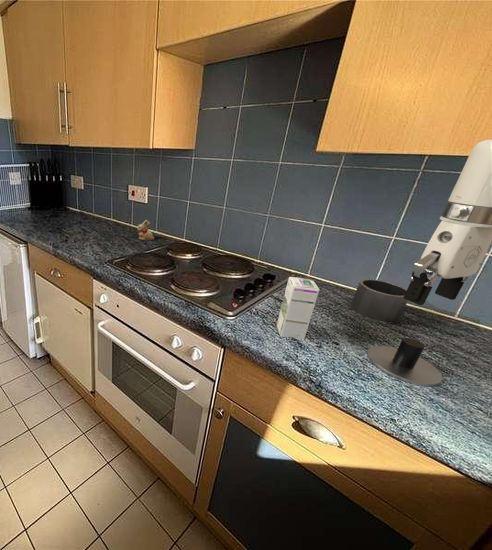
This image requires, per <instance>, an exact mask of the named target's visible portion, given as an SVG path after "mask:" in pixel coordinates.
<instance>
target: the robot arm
mask: <svg viewBox="0 0 492 550" xmlns="http://www.w3.org/2000/svg"><path fill="white" fill-rule="evenodd" d="M439 220H441V221H440V222H439V224H438V226H437V228H436V229H435V230H434V232H433V234H432V236H431V237H430V239H429V241H428V243H427V245H426V246H425V248H424V250H423V252H422V254H421V257H420V259H418V260H417V261H416V262H415V263H414V264H413V271H412V272H411V277H410V282H409V285H408V287H407V288H406V289H407V291H406V293H405V295H404V299H406V300H408V302H411V303H413V304H415V305H418V306H423V305H425V303H426V302H427V299H428V297H429V295H430V293H431V291H432V289H433V286H431V285H433V283H434V282H436V280H438V279H439V277H442V278H441V279H440V281H439V283H438V285H437V287H436V289H435V291H434V293H435V295H437V296H440V297H442V298H444V299H445V298H446V299H448V300H449V301H450V300H456V299H457V298H458V295H459V293H460V291H461V289H462V288H463V286H464V285H465V282H466V281H468V279H469V277H470V276H473V275H475V274H476V273H478V271H479V269H480V267H481V265H482V263H483V261H484V259H485V257H486V255H487V253H488V250H489V249H490V246H491V243H492V139H485V140H482V141H479V142H478V143H476V145H474V146H473V147H472V150H471V151H470V153H469V155H468V157H467V159H466V161H465V164H464V166H463V168H462V170H461V172H460V175H459V177H458V178H457V181H456V183H455V185H454V186H453V189H452V191H451V194H450V196H449V198H448V200H447V202H446V204H445V206H444V208H443V210H442V213H441V214H440V217H439ZM428 275H429V277H428Z"/></svg>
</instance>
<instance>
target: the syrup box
mask: <svg viewBox="0 0 492 550" xmlns="http://www.w3.org/2000/svg"><path fill="white" fill-rule="evenodd" d="M319 293H320V288H319V286H318V285H317V283H316V282H315V281H314V279H310V278H306V277H297V276H289V277H288V280H287V283H286V288H285V291H284V295H283V298H282V302H281V306H280V310H279V314H278V318H277V321H276V329H277V332H278V335H279V337H280V338H284V339H285V338H287V337H288V338H292V339H298V340H305V338H306V335H307V331H308V328H309V325H310V322H311V319H312V315H313V312H314V309H315V307H316V302H317V299H318V296H319Z"/></svg>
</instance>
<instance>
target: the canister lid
mask: <svg viewBox="0 0 492 550" xmlns="http://www.w3.org/2000/svg"><path fill="white" fill-rule="evenodd" d="M400 341H401V342H400V344H399V346H398V348H397V347H393V346H388V345H373V346H370V347H369V348H368V349H367V352H366V355H367V359H368V360H369V361H370V362H371V363H372V365H374V366H375V367H376V368H378V369H379V370H381V371H382V372H383V373H385V374H387V375H388V376H390V377H393V378H395V379H397V380H400V381H402V382H405V383H408V384H412V385H415V386H421V387H436V386H439V385H441V383H442V382H443V376H442V373H441V372H440V370H439V369H437V367H436V366H434V365H433V364H432V363H430V362H429V361H427V360H426V359H424V358H422V357H421V355H422V354H423V351H424V350H425V348H426V346H425V344H424V343H423V342H421V341H420V340H417V339H415V338H411V337H403V338H402V339H401V340H400Z"/></svg>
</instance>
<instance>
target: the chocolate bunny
mask: <svg viewBox="0 0 492 550" xmlns="http://www.w3.org/2000/svg"><path fill="white" fill-rule="evenodd" d="M149 226H151V222H150V221H149V220H148V219H145V220H144V221H143V222H142V223H140V224H138V225H137V228H136V229H137V232H138V240H140V241H141V240H142V241H154V240H155V236H154V234H153V233H152V232H151V230H149Z"/></svg>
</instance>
